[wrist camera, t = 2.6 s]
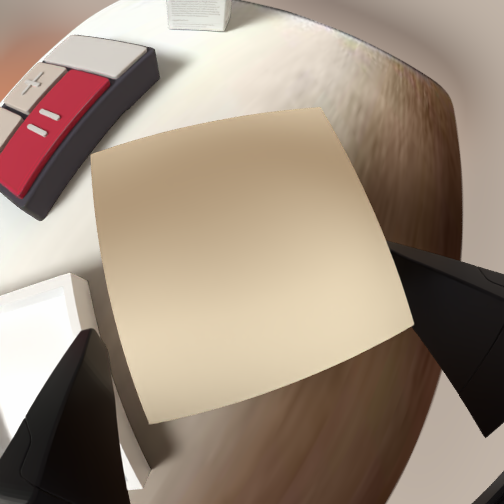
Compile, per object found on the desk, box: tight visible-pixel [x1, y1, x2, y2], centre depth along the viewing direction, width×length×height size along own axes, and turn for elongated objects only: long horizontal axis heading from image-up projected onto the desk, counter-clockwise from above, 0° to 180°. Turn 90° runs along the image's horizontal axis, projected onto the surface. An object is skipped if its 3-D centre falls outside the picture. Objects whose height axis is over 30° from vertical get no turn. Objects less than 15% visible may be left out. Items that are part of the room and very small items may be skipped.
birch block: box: [91, 107, 414, 424], centre depth 11 cm, size 5×5×12 cm
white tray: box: [0, 273, 151, 490], centre depth 12 cm, size 12×12×2 cm
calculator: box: [0, 35, 160, 221], centre depth 17 cm, size 11×4×15 cm
